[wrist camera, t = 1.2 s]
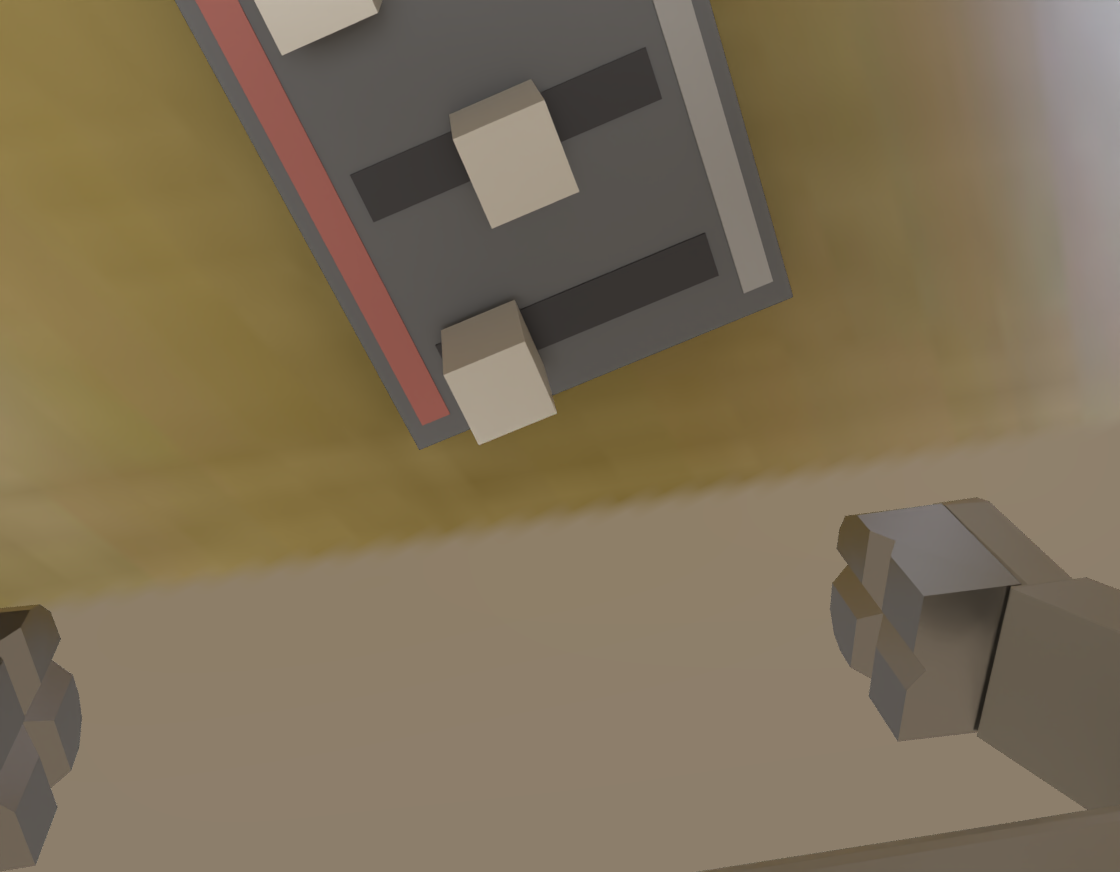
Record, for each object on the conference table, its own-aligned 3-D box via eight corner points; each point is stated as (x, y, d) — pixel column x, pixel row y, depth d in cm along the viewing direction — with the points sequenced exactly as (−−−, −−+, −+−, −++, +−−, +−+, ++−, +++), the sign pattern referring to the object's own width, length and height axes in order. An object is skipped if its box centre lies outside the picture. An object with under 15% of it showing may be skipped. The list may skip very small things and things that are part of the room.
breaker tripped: (530, 79, 33) (544, 99, 29) (563, 162, 34) (579, 191, 31) (449, 114, 33) (452, 139, 30) (484, 195, 35) (491, 228, 31)
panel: (613, -285, 30) (626, -297, 29) (776, 279, 40) (793, 297, 38) (151, -72, 32) (135, -71, 30) (419, 426, 41) (419, 451, 39)
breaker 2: (514, 299, 37) (524, 341, 33) (544, 366, 38) (557, 413, 34) (440, 330, 37) (443, 375, 33) (473, 395, 38) (478, 445, 35)
